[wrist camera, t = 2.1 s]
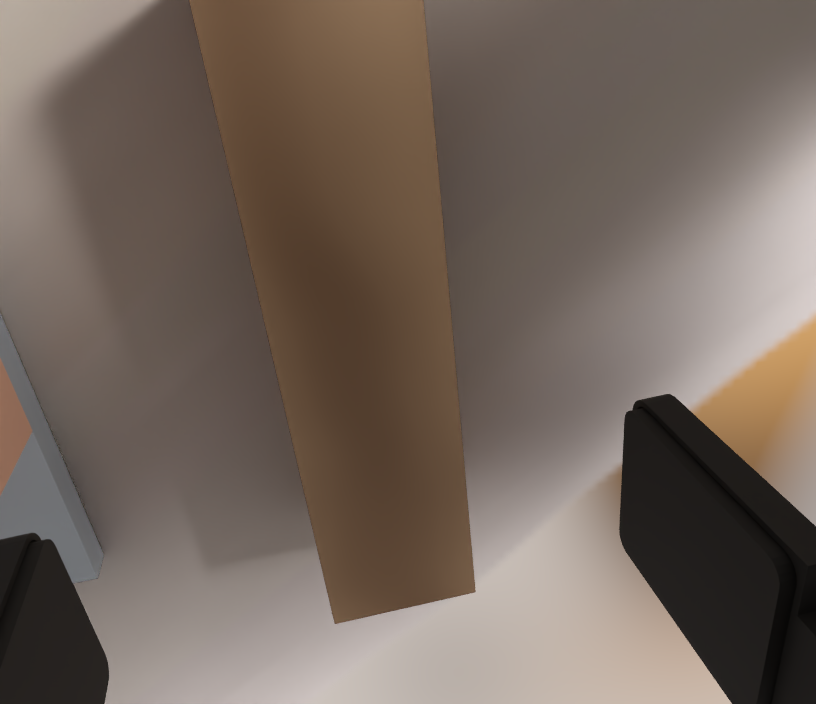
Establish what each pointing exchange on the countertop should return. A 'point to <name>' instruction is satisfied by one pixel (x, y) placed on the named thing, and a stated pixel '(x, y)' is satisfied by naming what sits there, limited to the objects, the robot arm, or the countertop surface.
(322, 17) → the walnut bar
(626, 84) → the countertop surface
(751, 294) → the countertop surface
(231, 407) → the countertop surface
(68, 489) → the fulcrum stand
